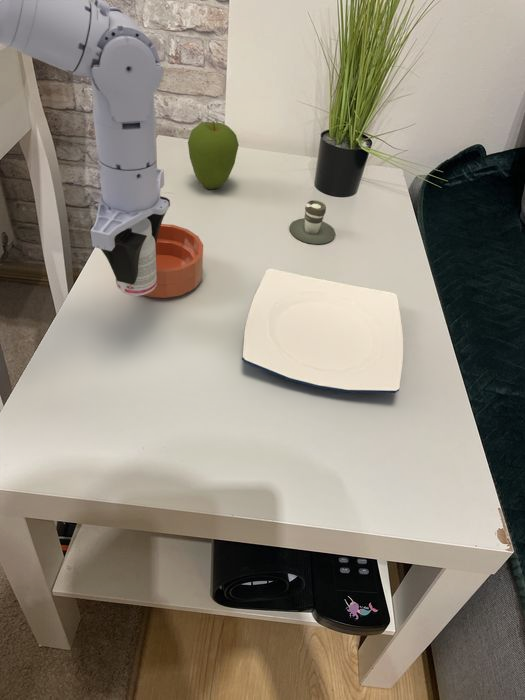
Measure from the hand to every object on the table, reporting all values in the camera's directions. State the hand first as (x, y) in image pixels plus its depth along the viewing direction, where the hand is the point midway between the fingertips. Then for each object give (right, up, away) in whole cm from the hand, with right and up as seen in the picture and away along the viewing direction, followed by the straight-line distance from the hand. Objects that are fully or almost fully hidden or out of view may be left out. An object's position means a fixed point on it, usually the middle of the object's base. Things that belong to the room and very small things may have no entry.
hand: (135, 268), depth 61 cm
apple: (+6, +20, +33) cm, 39 cm away
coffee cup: (+23, +10, +26) cm, 36 cm away
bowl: (+1, +1, +13) cm, 13 cm away
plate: (+23, -8, +8) cm, 25 cm away
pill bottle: (0, -2, +2) cm, 3 cm away
